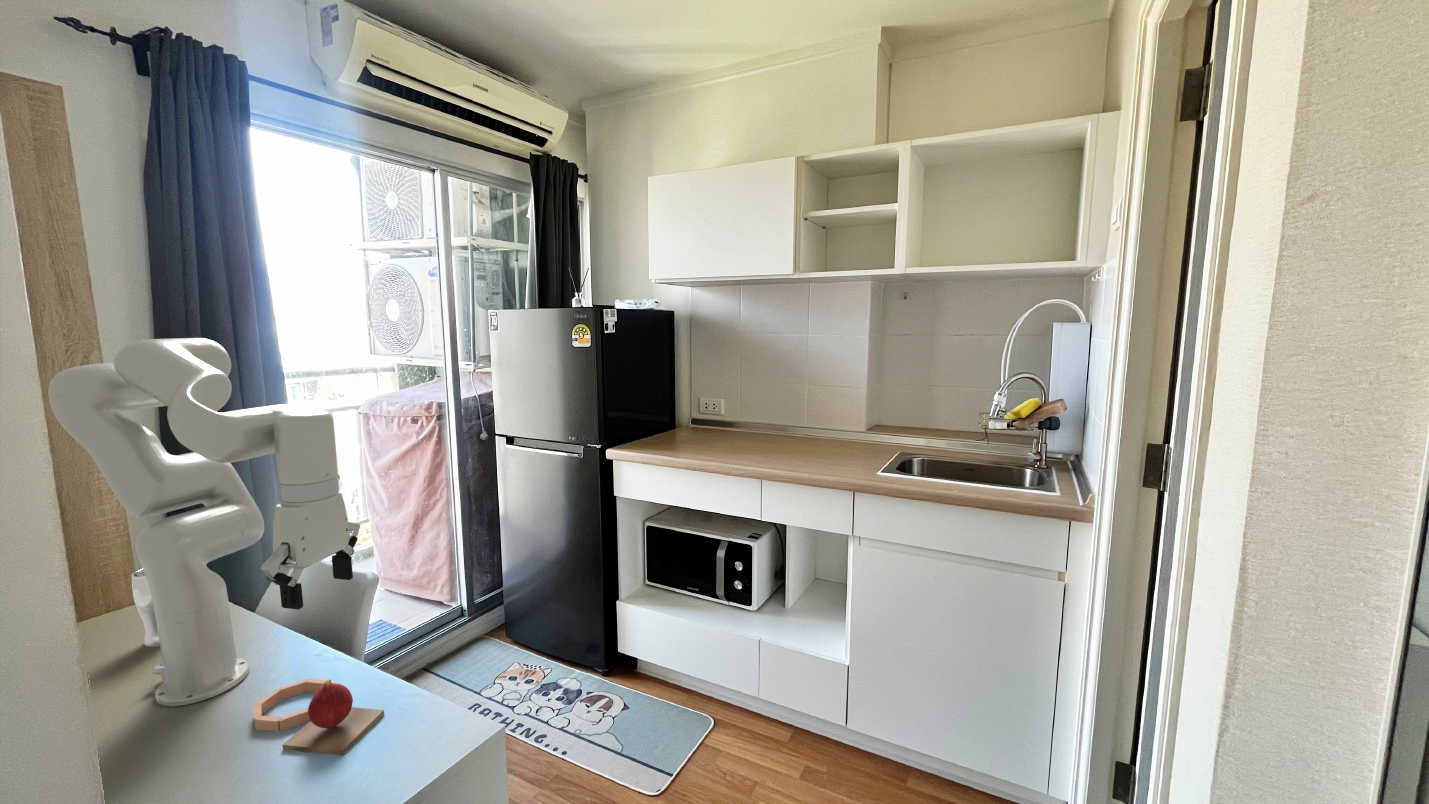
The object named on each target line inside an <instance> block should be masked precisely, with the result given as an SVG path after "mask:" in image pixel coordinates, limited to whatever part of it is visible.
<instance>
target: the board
mask: <svg viewBox="0 0 1429 804" xmlns="http://www.w3.org/2000/svg"><path fill="white" fill-rule="evenodd" d="M384 716H385V710H384V709H379V708H378V709H377V708H367V707H365V708H364V707H363V708H362V707H353V706H352V708H351V711H350V713H349V715H348V716H347V717H346V718H345V719H344V720H343V721H342V722H341V723H340V724H338V725H337V726H336V727H334V728H328V729H327V728H320V727H317V726H316V725H314V724H313V723H312V722H311V721H309V722H307V723H305V725H304V726H303V727H302V728H300V729H299V730H298V731H297V732H296V733H295V734H293V735H292V736H291V737H290V738H288V739H287V740H286V741H285V742H283V744H281V745H282V750H285V751H294V752H304V753H314V754H315V753H317V754H326V755H337V756H344V755H345V754H346V753H347V752H348V751H349V750H350V748H352V747H353V746H354V745H355V744H356V743H357V742H358V741H359V740H360V739H361V738H362V737H363V736H364V735H365V734H366V733H367V732H368V731H369V730H370V729H371V728H372V727H373V726H374V725H375V724H377V722H378V721H379V720H380V719H382V718H383V717H384Z"/></svg>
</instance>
